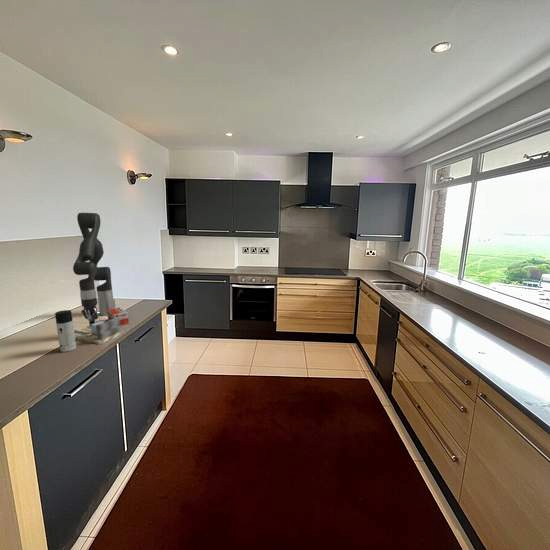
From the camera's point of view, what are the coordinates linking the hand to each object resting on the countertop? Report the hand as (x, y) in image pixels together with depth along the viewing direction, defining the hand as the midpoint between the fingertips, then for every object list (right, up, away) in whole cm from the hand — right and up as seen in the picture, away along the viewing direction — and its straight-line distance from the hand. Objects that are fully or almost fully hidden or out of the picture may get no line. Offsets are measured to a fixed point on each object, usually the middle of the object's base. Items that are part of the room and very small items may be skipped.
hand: (92, 326), depth 166 cm
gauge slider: (+5, -4, -4) cm, 8 cm away
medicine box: (+3, -1, +21) cm, 21 cm away
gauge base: (+2, -5, 0) cm, 5 cm away
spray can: (-1, -9, -18) cm, 20 cm away
